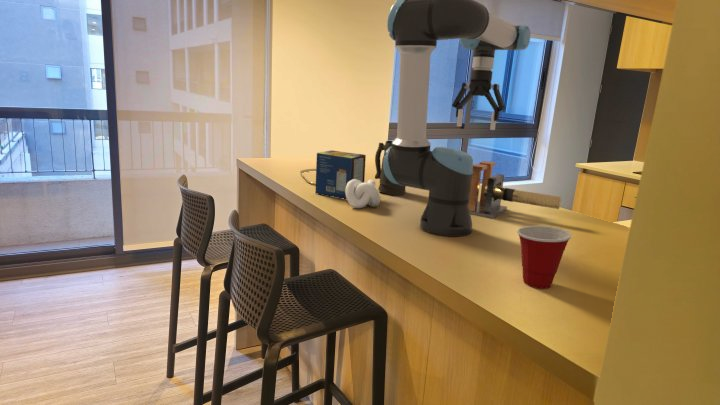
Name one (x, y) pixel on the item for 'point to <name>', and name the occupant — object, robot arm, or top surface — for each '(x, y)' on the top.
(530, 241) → the plastic cup
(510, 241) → the top surface
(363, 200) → the white knot sculpture
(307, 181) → the beaded necklace
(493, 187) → the wooden stand
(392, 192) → the beer stein
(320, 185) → the protein box
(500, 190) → the tube
